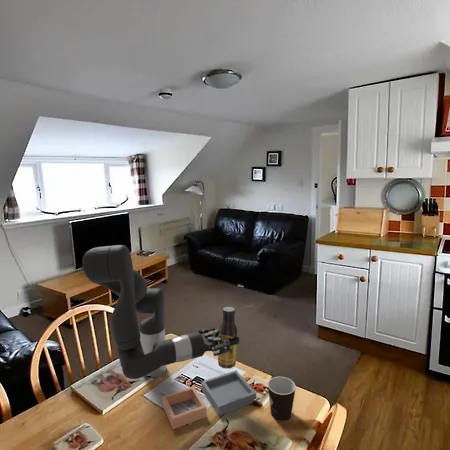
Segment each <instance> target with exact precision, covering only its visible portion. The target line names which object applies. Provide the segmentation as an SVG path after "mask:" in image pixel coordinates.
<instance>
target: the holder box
mask: <svg viewBox="0 0 450 450" xmlns="http://www.w3.org/2000/svg"><path fill="white" fill-rule="evenodd" d="M161 398H162V407H163V409H164V411H165V414H166V416H167V419H168V421H169V424H170V426H171V428H172V430H175V429H177V428H181V427H183V426H185V425H188V424H190V423H194V422H197V421H199V420H202V419H204V418H207V416H208V414H207V406H206V403H204V400H203V399H202V397H201V396H200V394H199V393H198V391H197V389H196V387H195V386H194V385H193V386H190V387H187V388H185V389H181V390H178V391H175V392H172V393H168V394H165V395H162V397H161ZM192 398H193V399H192ZM191 399H192V400H193V402H194V404H195V405H196V407H195V408H192V409H189V410H186V411H184V412H181V413H178V414H177V415H176V414H175V413H174V411H173V409H172V407H171V406H174V405H176V404H179V403H182V402H185V401H189V400H191Z"/></svg>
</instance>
